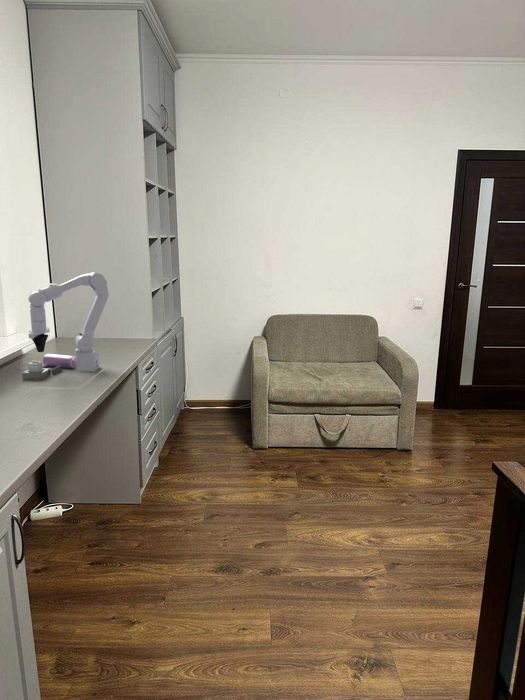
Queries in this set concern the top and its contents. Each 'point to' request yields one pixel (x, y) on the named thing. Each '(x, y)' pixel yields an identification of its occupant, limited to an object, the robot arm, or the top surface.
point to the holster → (54, 369)
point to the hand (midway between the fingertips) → (40, 351)
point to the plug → (35, 366)
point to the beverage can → (59, 361)
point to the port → (36, 374)
